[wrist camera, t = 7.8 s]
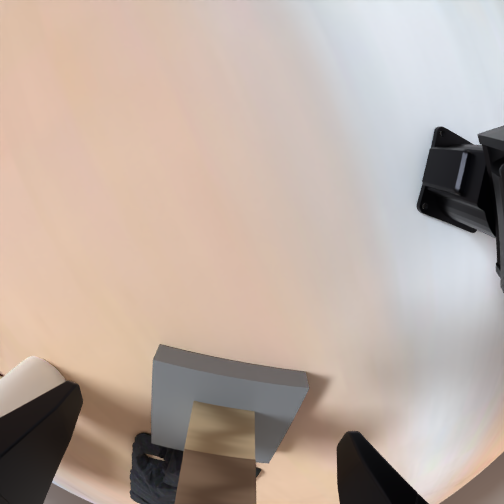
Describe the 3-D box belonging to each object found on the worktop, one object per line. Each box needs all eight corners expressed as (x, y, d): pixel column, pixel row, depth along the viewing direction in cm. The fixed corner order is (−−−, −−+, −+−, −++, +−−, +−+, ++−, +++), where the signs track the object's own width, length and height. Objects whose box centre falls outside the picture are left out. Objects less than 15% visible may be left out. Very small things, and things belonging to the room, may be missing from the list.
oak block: (254, 411, 22) (255, 459, 17) (242, 442, 24) (241, 486, 19) (193, 400, 22) (184, 448, 17) (188, 433, 23) (180, 476, 18)
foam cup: (83, 420, 26) (43, 504, 14) (21, 386, 25) (-27, 456, 13) (80, 367, 23) (19, 468, 11) (10, 329, 22) (-61, 404, 10)
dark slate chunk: (119, 483, 33) (112, 505, 28) (141, 420, 26) (129, 454, 22) (208, 510, 35) (206, 532, 30) (271, 459, 28) (272, 492, 24)
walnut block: (255, 459, 17) (256, 518, 12) (241, 486, 19) (240, 535, 14) (184, 448, 17) (173, 507, 12) (180, 476, 18) (172, 526, 14)
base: (305, 371, 23) (309, 388, 21) (267, 448, 27) (268, 463, 25) (159, 344, 22) (153, 359, 20) (155, 429, 26) (151, 443, 24)
